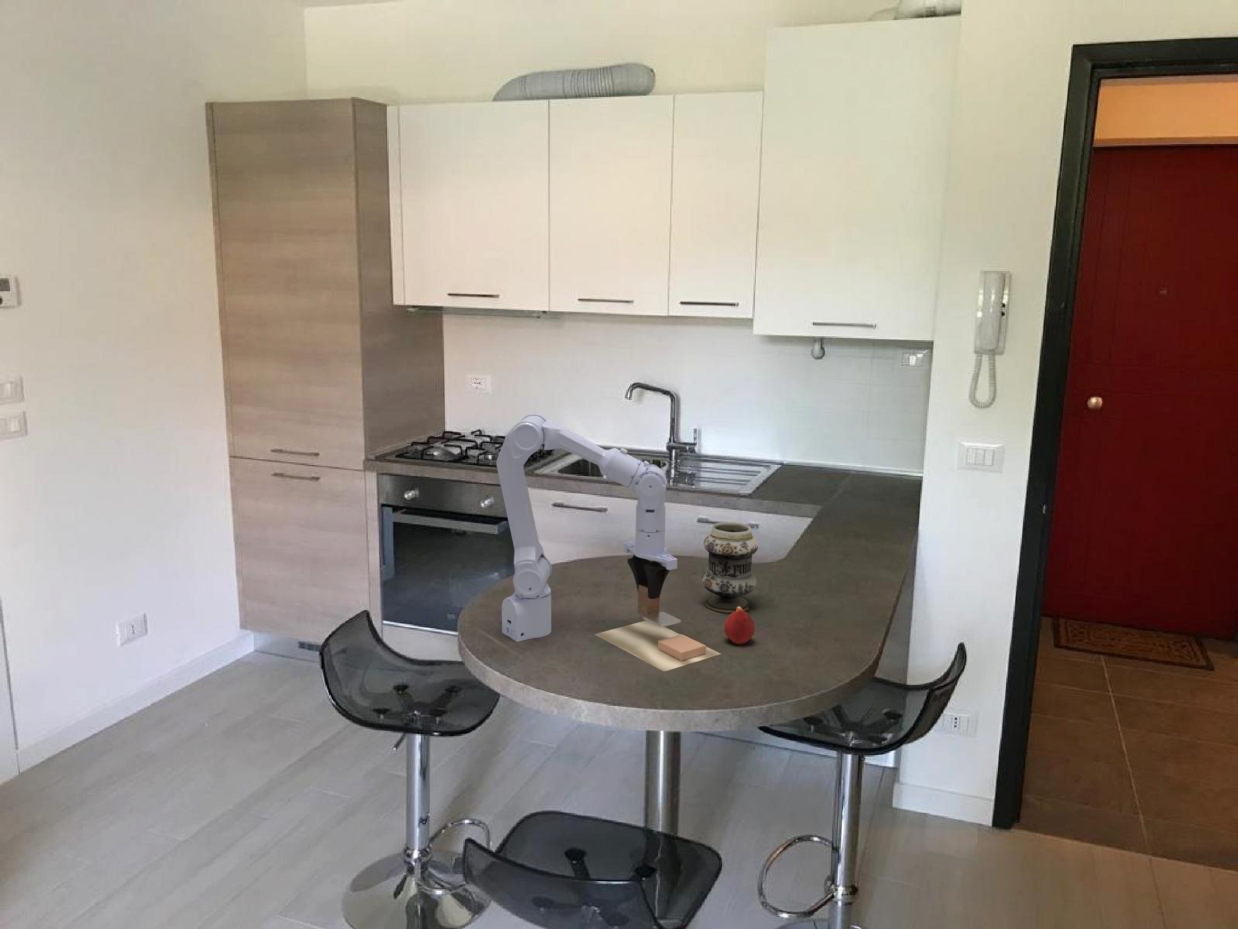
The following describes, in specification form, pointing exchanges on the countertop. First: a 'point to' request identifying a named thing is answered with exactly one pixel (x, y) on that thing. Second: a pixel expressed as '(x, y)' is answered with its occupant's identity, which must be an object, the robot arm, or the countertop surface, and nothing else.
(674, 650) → the tile
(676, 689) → the countertop surface
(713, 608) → the apothecary jar
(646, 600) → the bookend
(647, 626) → the board
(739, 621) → the onion
